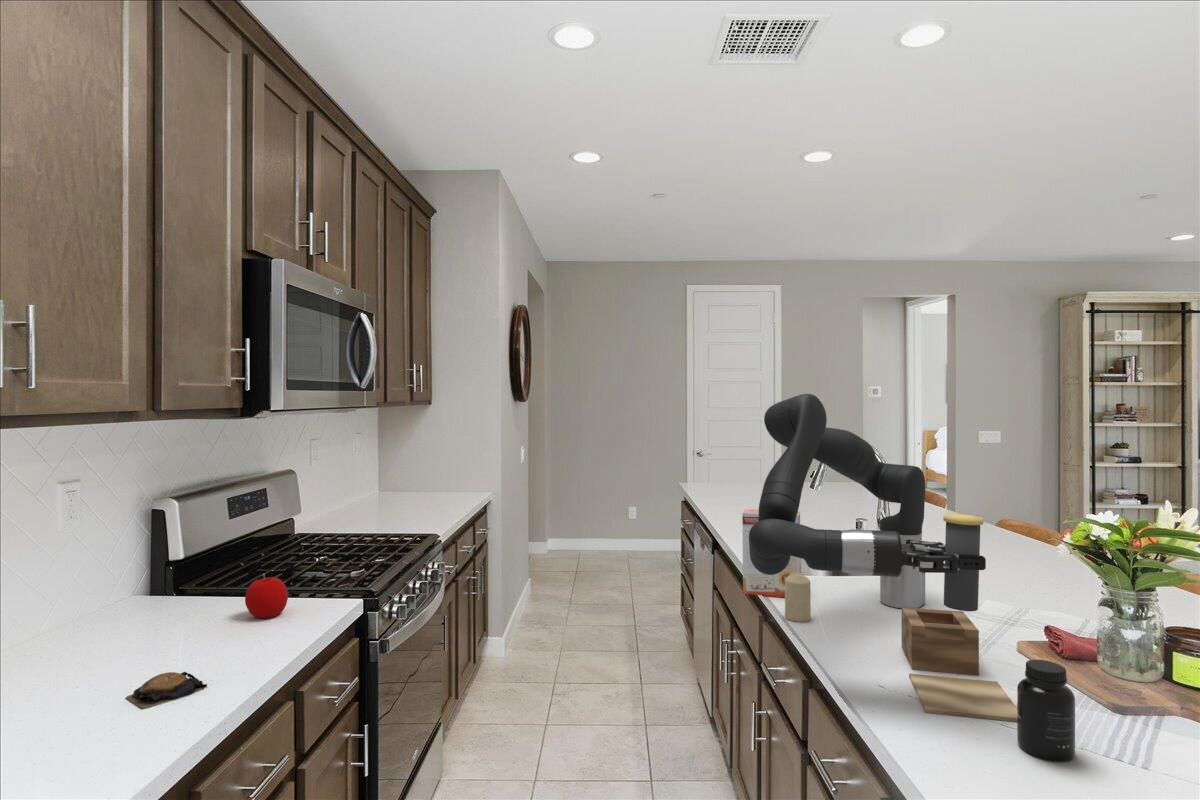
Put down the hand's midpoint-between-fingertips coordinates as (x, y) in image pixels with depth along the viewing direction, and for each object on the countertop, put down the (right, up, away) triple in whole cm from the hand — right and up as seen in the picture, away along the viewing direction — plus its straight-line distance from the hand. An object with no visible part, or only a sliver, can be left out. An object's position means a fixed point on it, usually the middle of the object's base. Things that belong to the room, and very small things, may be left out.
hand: (979, 558), depth 111 cm
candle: (-18, -23, +41) cm, 51 cm away
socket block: (+1, -23, +17) cm, 28 cm away
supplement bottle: (0, -23, -16) cm, 28 cm away
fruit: (-139, -24, +45) cm, 148 cm away
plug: (-3, -8, +1) cm, 8 cm away
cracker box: (-19, -23, +60) cm, 67 cm away
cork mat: (-2, -23, +1) cm, 23 cm away
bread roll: (-136, -25, +5) cm, 138 cm away
